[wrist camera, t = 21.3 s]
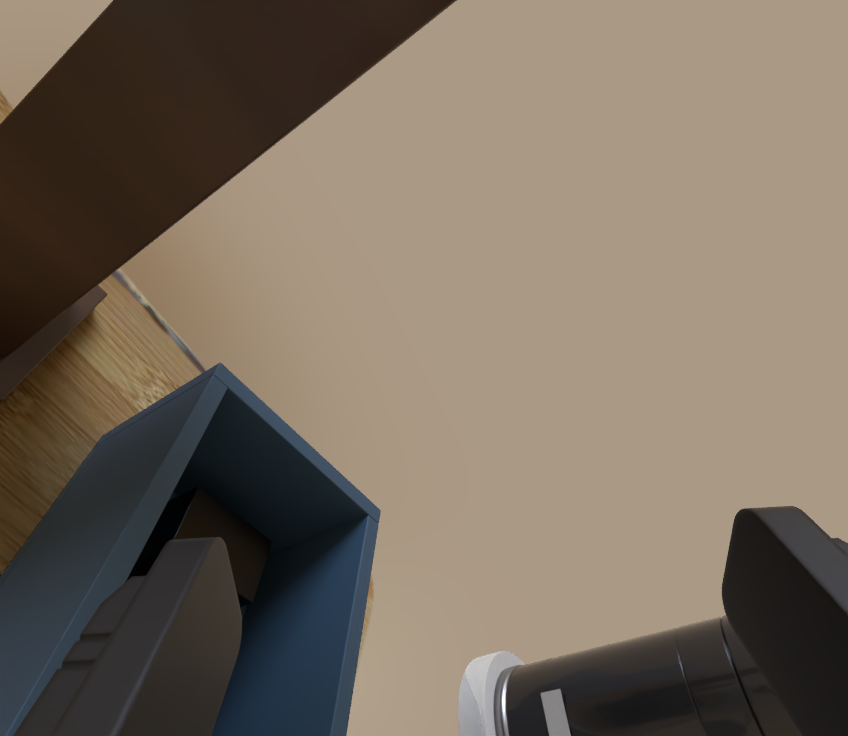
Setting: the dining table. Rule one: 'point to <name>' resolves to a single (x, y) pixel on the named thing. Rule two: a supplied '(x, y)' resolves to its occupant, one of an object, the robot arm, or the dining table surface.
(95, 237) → the stand
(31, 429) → the dining table surface
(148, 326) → the dining table surface
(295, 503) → the bin
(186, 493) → the grey mallet
